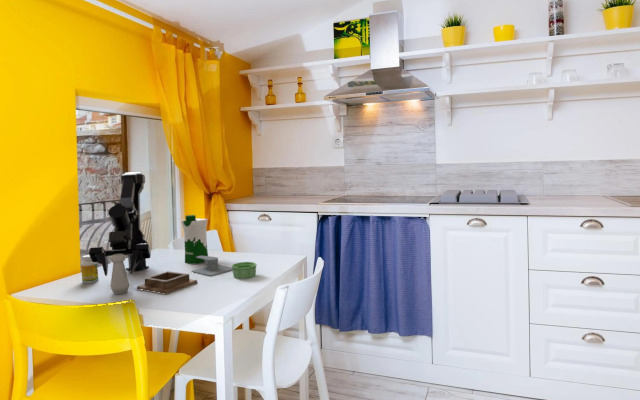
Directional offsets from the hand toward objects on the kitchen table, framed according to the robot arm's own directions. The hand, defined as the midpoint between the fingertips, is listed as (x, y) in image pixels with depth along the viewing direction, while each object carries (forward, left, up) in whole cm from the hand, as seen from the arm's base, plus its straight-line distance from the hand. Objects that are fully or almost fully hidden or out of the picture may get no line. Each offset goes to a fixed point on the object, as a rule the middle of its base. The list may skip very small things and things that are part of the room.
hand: (118, 274), depth 151 cm
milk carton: (-9, +45, -7) cm, 46 cm away
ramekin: (+25, +34, -7) cm, 43 cm away
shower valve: (+7, +36, -7) cm, 37 cm away
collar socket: (+8, +13, -7) cm, 17 cm away
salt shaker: (-1, +1, -7) cm, 7 cm away
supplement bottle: (-24, +6, -7) cm, 26 cm away
